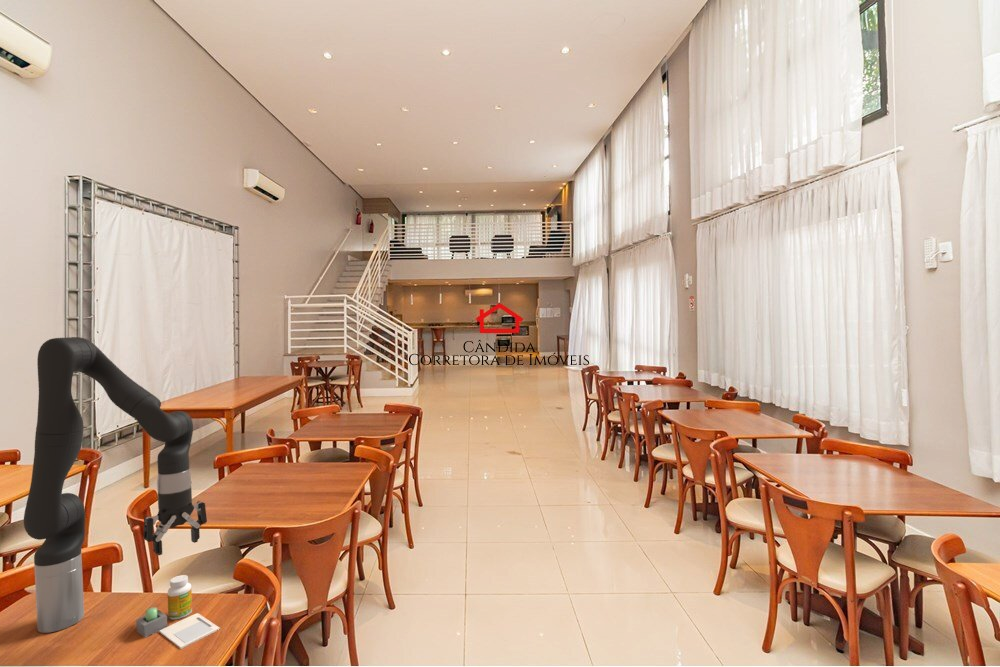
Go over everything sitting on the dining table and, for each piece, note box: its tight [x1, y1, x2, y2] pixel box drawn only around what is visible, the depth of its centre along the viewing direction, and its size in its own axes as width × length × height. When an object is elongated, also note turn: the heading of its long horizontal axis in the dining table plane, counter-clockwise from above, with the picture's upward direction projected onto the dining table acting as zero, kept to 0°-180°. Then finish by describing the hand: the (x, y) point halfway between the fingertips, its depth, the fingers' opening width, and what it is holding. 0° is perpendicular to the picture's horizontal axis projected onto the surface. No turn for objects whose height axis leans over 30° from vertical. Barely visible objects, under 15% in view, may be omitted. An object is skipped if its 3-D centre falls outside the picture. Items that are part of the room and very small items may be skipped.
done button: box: [145, 606, 158, 623], centre depth 126 cm, size 2×2×3 cm
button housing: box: [135, 609, 168, 638], centre depth 126 cm, size 5×5×3 cm
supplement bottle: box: [167, 574, 193, 620], centre depth 133 cm, size 5×5×10 cm
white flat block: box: [158, 612, 221, 650], centre depth 125 cm, size 12×9×1 cm
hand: (177, 547), depth 132 cm, fingers open, 8 cm apart
